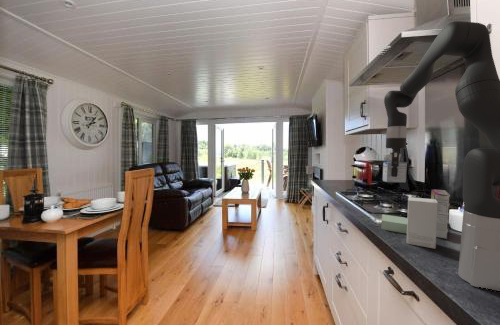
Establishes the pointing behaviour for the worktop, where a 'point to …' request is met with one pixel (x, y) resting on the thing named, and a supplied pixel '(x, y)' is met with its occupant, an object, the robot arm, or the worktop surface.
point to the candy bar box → (442, 212)
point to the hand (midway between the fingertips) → (394, 175)
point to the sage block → (394, 223)
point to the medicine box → (400, 176)
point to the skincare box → (422, 222)
